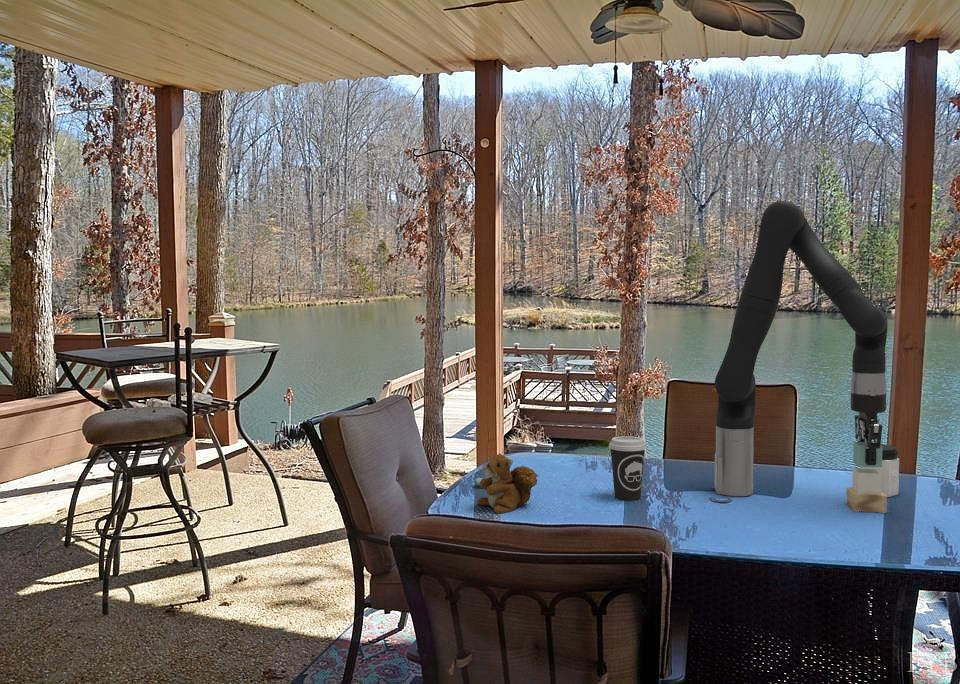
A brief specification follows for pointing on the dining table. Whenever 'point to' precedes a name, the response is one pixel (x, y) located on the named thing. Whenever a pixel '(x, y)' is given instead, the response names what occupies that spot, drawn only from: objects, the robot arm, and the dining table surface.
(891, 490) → the jar
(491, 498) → the stuffed squirrel
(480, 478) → the pacifier
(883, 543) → the dining table surface
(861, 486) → the cream cube
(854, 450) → the teal cube
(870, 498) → the base block
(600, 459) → the dining table surface
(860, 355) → the robot arm
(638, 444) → the coffee cup
